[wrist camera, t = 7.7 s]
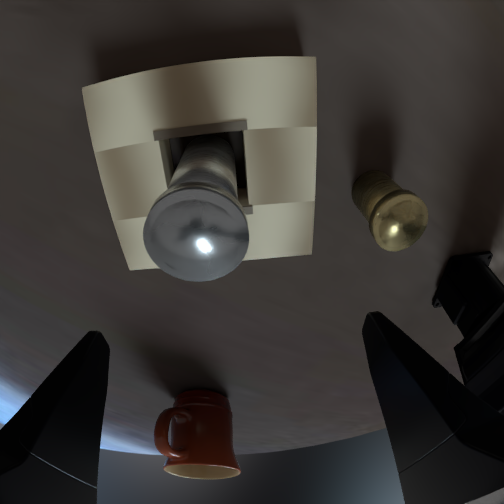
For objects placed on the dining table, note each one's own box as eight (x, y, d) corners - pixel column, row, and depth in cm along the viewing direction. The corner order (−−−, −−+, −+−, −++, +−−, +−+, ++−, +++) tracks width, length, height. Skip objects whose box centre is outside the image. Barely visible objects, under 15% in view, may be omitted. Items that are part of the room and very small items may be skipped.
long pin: (237, 127, 17) (245, 185, 10) (241, 184, 19) (252, 277, 12) (174, 134, 17) (131, 198, 9) (182, 190, 19) (156, 284, 12)
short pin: (398, 166, 19) (433, 195, 15) (390, 213, 21) (420, 248, 17) (350, 166, 19) (379, 196, 15) (345, 216, 21) (369, 253, 17)
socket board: (303, 57, 14) (316, 56, 12) (303, 232, 21) (312, 255, 19) (100, 83, 14) (80, 88, 12) (138, 248, 21) (129, 271, 19)
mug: (248, 403, 36) (254, 474, 28) (194, 416, 38) (193, 480, 30) (196, 362, 30) (193, 453, 22) (136, 378, 32) (125, 457, 23)
